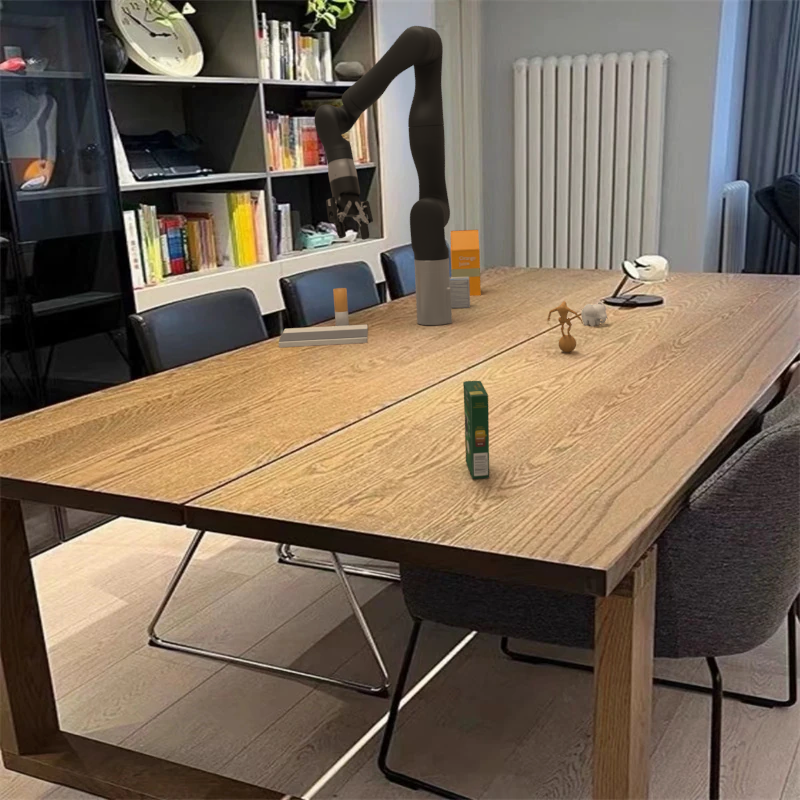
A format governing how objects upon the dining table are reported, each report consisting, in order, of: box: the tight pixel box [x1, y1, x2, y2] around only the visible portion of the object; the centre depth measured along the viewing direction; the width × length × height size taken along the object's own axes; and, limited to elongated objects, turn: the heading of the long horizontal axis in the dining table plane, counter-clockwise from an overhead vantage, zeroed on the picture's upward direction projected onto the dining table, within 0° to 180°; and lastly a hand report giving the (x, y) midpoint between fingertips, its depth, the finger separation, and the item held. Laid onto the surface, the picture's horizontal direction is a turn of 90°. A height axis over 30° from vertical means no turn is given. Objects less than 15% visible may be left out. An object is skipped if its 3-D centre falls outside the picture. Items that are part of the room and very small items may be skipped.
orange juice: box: [450, 229, 482, 297], centre depth 302 cm, size 8×9×20 cm
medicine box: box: [450, 276, 471, 309], centre depth 281 cm, size 8×4×9 cm, turn 84°
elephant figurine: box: [580, 300, 609, 327], centre depth 246 cm, size 7×8×6 cm
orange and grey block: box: [332, 287, 350, 326], centre depth 262 cm, size 4×4×10 cm
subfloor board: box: [278, 324, 369, 348], centre depth 248 cm, size 22×18×1 cm
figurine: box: [547, 301, 584, 353], centre depth 216 cm, size 8×6×12 cm
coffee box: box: [463, 380, 490, 480], centre depth 143 cm, size 8×3×13 cm, turn 3°
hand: (354, 238), depth 257 cm, fingers open, 8 cm apart
